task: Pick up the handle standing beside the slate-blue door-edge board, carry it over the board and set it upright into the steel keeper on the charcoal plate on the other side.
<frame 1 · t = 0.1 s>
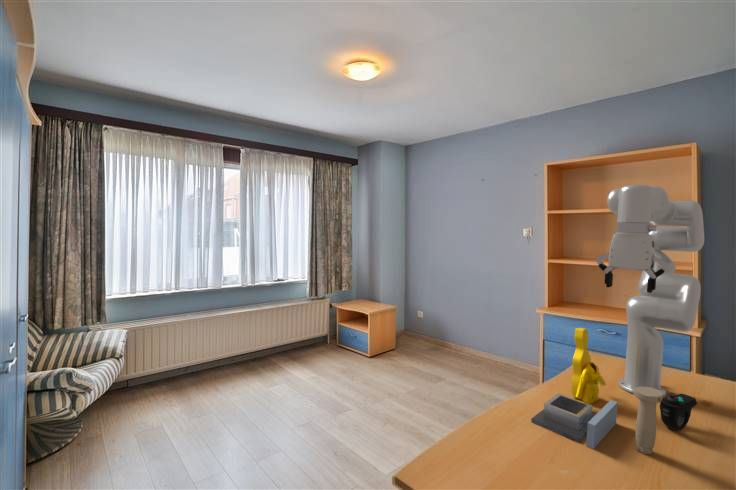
hand: (628, 289, 102), 37 cm above the table, tool pointing down, fingers open, 9 cm apart
figure statuette: (584, 398, 113), on the table
controller: (676, 427, 98), on the table
handle: (644, 451, 87), on the table
keeper: (567, 420, 101), on the table
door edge: (601, 433, 94), on the table
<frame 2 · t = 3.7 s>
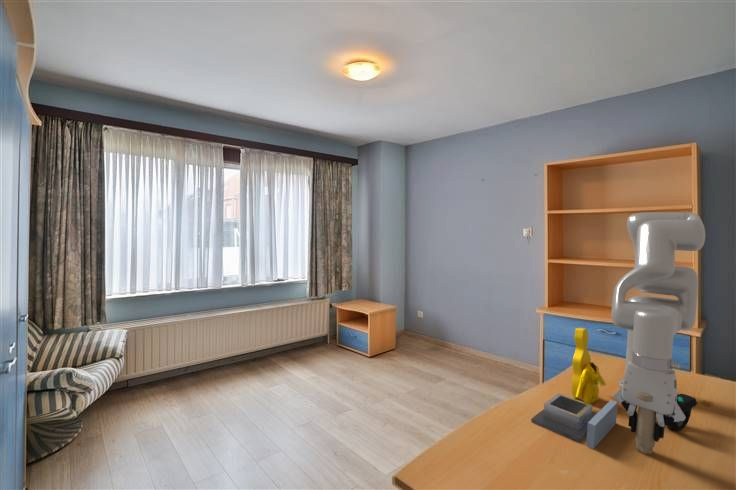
hand: (645, 434, 87), 4 cm above the table, tool pointing down, fingers closed on handle, 4 cm apart
handle: (644, 451, 87), on the table, touching gripper
everything else where it was.
when the fingers open (6 cm above the table, at t = 10.3 s): handle stays where it is, resting on keeper.
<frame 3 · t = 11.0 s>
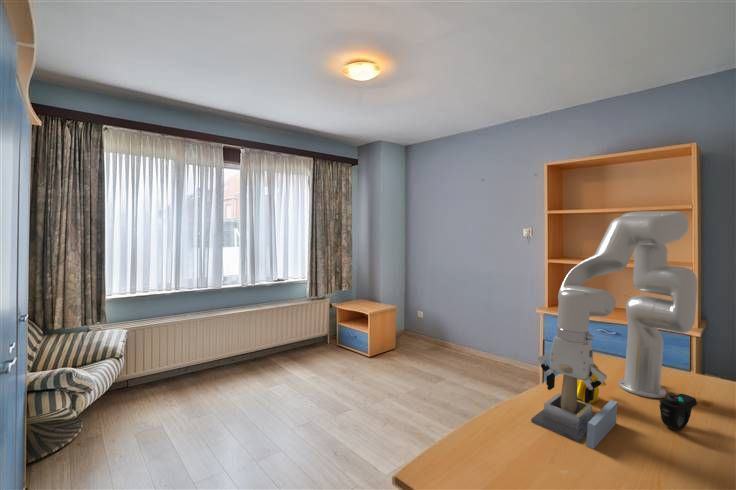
hand: (568, 394, 100), 7 cm above the table, tool pointing down, fingers open, 9 cm apart
handle: (567, 417, 101), point 1 cm above the table, touching keeper
everything else where it was.
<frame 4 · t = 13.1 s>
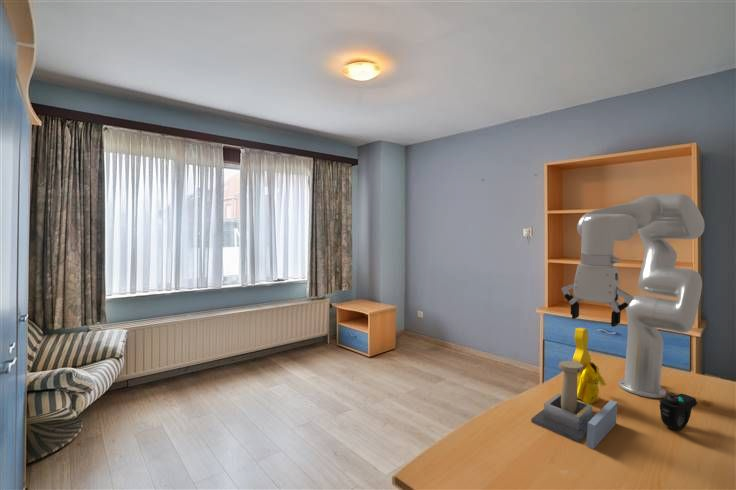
hand: (594, 321, 99), 28 cm above the table, tool pointing down, fingers open, 9 cm apart
nothing on the table moved.
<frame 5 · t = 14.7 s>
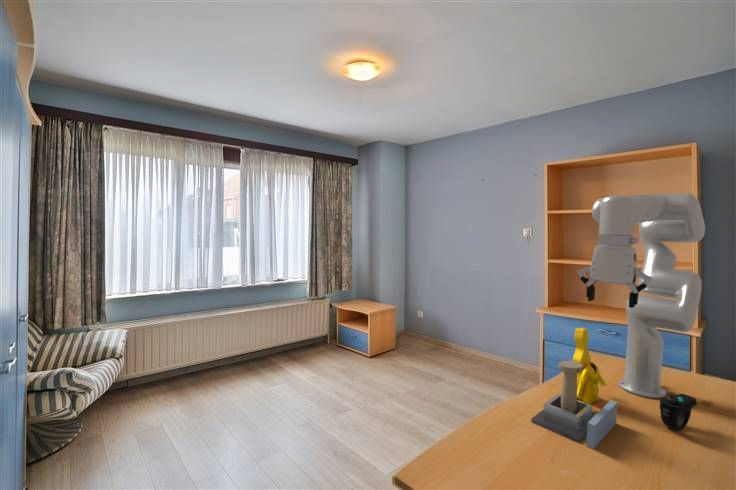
hand: (610, 303, 99), 33 cm above the table, tool pointing down, fingers open, 9 cm apart
nothing on the table moved.
at the end: handle 0.1 cm off-centre on the keeper, point 0.8 cm above the keeper's base; handle tilted 0°; the gripper is holding nothing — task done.
